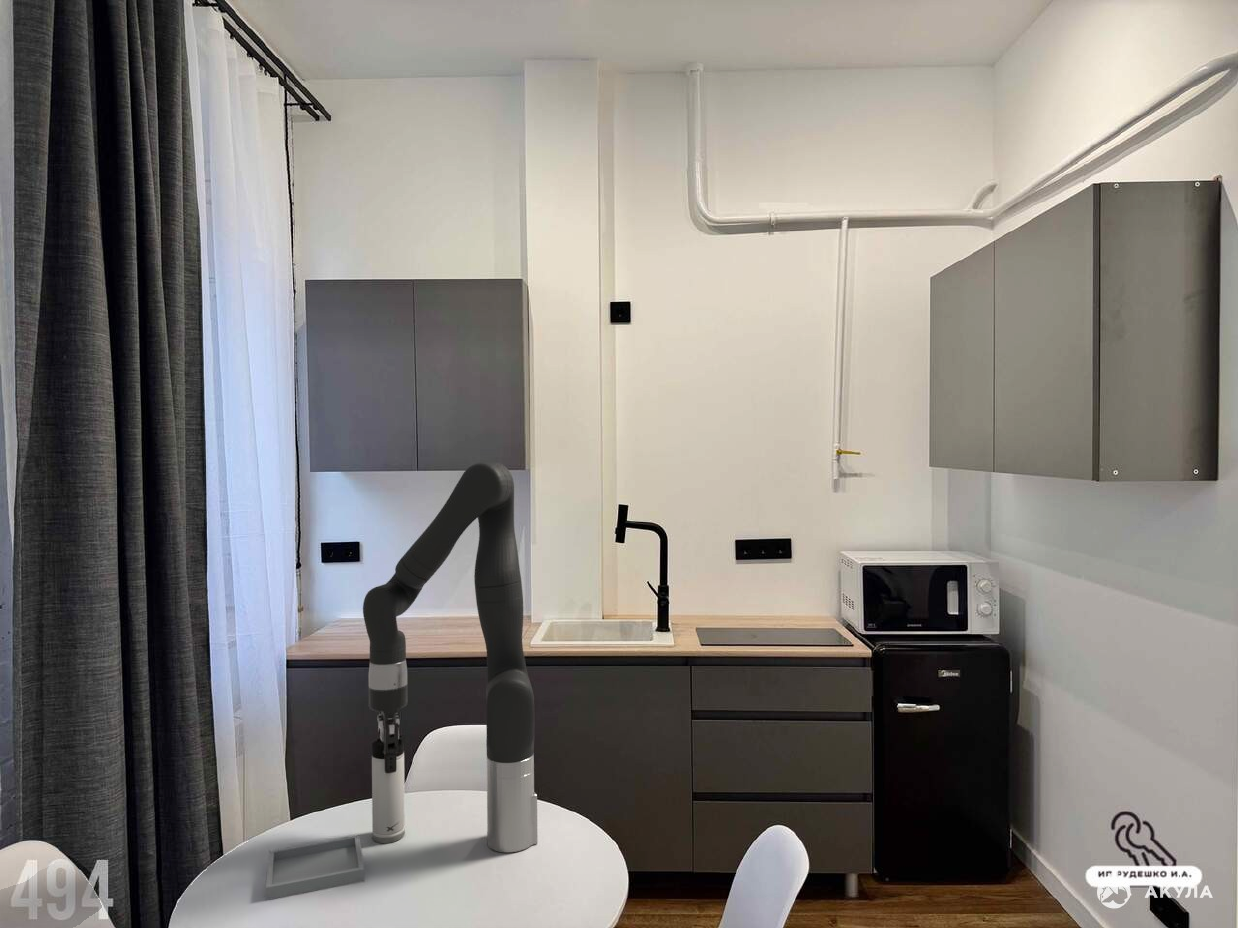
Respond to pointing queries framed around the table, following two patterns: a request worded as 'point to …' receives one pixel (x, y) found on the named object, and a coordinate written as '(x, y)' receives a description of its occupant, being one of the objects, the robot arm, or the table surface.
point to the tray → (314, 867)
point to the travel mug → (387, 795)
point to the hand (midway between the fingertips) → (388, 765)
